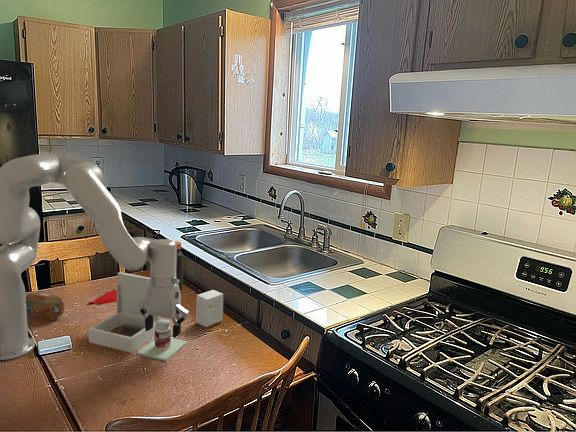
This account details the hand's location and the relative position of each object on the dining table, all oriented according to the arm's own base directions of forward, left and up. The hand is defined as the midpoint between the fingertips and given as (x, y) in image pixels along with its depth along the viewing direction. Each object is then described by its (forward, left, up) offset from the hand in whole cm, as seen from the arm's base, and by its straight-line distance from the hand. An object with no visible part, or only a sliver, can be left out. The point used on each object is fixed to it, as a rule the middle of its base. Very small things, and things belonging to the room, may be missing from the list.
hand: (162, 332), depth 136 cm
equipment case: (+1, +15, -5) cm, 16 cm away
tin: (+2, +49, -6) cm, 49 cm away
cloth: (+28, +39, -6) cm, 49 cm away
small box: (+23, -4, -6) cm, 24 cm away
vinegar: (+45, +24, -6) cm, 51 cm away
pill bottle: (0, 0, -5) cm, 5 cm away
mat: (0, 0, -5) cm, 5 cm away
